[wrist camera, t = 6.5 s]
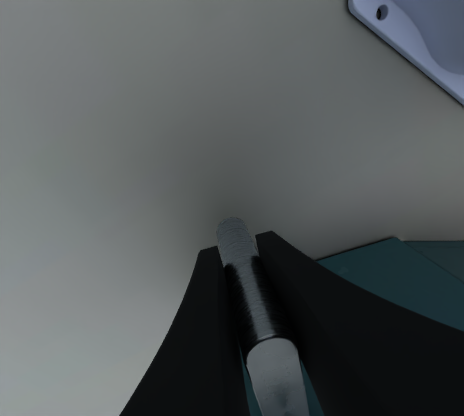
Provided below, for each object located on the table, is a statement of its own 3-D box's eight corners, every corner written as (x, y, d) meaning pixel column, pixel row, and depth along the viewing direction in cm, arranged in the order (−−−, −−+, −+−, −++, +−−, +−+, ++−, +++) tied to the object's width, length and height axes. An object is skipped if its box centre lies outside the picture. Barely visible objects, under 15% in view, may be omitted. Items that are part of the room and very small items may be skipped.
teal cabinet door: (185, 208, 13) (179, 516, 3) (405, 145, 13) (903, 265, 4) (219, 301, 16) (262, 584, 7) (394, 248, 16) (654, 441, 7)
